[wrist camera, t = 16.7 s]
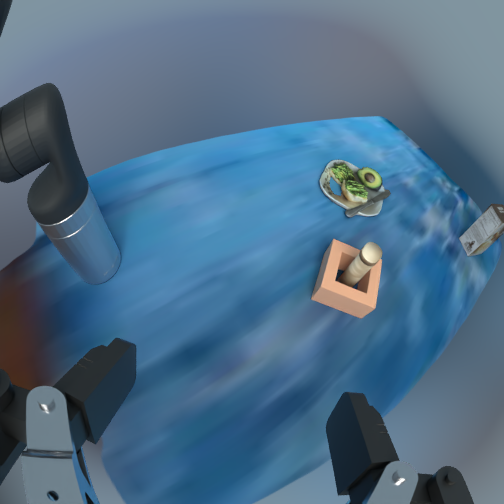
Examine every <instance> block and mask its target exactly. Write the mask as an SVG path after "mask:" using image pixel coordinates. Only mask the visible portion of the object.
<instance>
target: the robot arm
mask: <svg viewBox="0 0 504 504" xmlns="http://www.w3.org/2000/svg"><path fill="white" fill-rule="evenodd" d="M11 3H12V0H0V36H1V33H2V30H3V27H4V25H5V22H6V19H7V16H8V13H9V10H10V7H11ZM49 162H50V163H49ZM47 163H49V165H48V166H47V167H46V169H44V171H43V172H42V173H41V174H40V175H39V176H38V178H36V180H35V181H34V183H33V184H32V186H31V188H30V190H29V193H28V201H27V203H28V207H29V210H30V212H31V214H32V215H33V217H34V218H35V219H36V221H37V222H38V224H39V225H40V227H41V228H42V229H43V231H44V232H45V234H46V235H47V236H48V238H49V239H50V240H51V242H52V243H53V244H54V246H55V247H56V248H57V249H58V251H59V252H60V253H61V255H62V256H63V257H64V258H65V260H66V261H67V262H68V263H69V265H70V266H71V267H72V268H73V269H74V271H75V272H76V273H77V274H78V275H79V276H80V278H81V279H82V280H83V281H85V282H86V283H89V284H101V283H103V282H106V281H107V280H109V279H110V278H111V277H112V276H113V275H114V274H115V273H116V272H117V270H118V268H119V265H120V261H121V254H120V251H119V248H118V246H117V244H116V243H115V241H114V239H113V236H112V234H111V232H110V230H109V228H108V226H107V224H106V222H105V220H104V218H103V216H102V213H101V211H100V209H99V207H98V205H97V202H96V200H95V198H94V195H93V193H92V191H91V189H90V186H89V184H88V181H87V179H86V176H85V174H84V171H83V169H82V166H81V164H80V161H79V158H78V156H77V153H76V150H75V147H74V144H73V140H72V136H71V132H70V128H69V124H68V119H67V115H66V111H65V107H64V103H63V100H62V97H61V94H60V92H59V90H58V89H57V87H56V86H55V85H53V84H51V83H46V84H43V85H41V86H39V87H37V88H35V89H33V90H31V91H29V92H27V93H25V94H23V95H22V96H20V97H18V98H16V99H14V100H13V101H11V102H9V103H8V104H6V105H4V106H3V107H1V108H0V181H1V182H5V183H10V182H13V181H16V180H18V179H20V178H22V177H24V176H25V175H27V174H29V173H31V172H32V171H34V170H36V169H38V168H40V167H41V166H43V165H45V164H47ZM135 379H136V345H135V344H133V343H130V342H128V341H125V340H122V339H120V338H115V339H114V340H113V341H112V342H111V343H110V344H109V345H108V346H107V347H106V346H104V345H100V346H98V347H96V348H93V349H91V350H90V351H89V352H88V353H87V354H86V355H85V356H84V357H83V359H82V358H81V359H80V360H79V361H78V362H77V365H76V364H75V365H74V366H73V367H72V368H71V369H70V370H69V371H68V372H67V373H66V374H65V375H64V376H63V377H62V378H61V379H60V380H59V381H58V382H57V383H56V384H55V385H54V386H53V387H50V386H40V387H36V388H34V389H33V390H31V391H30V390H27V389H24V388H21V387H18V386H16V385H13V384H11V381H10V378H9V376H8V374H7V373H6V372H5V371H4V370H2V369H0V485H1V484H2V482H3V480H4V479H5V477H6V476H7V474H8V473H9V471H10V469H11V468H12V466H13V465H14V463H15V462H16V460H17V459H18V457H19V456H20V455H21V462H22V472H23V480H24V487H25V493H26V498H27V503H28V504H100V503H99V501H98V498H97V497H96V494H95V492H94V489H93V486H92V483H91V479H90V476H89V473H88V469H87V466H86V461H85V457H84V453H83V449H82V445H83V444H84V442H85V441H86V440H88V441H90V442H92V443H94V444H96V443H97V442H98V440H99V438H100V437H101V435H102V434H103V432H104V431H105V429H106V428H107V426H108V424H109V423H110V421H111V420H112V418H113V417H114V415H115V414H116V412H117V410H118V409H119V407H120V406H121V404H122V403H123V401H124V400H125V398H126V397H127V395H128V394H129V392H130V391H131V389H132V387H133V385H134V382H135ZM387 432H388V431H387V429H386V427H385V426H384V422H383V419H382V417H381V415H380V414H379V412H378V411H377V410H376V409H375V408H374V407H373V406H369V404H368V402H367V399H366V397H365V395H364V394H363V393H352V392H345V393H343V394H342V396H341V398H340V399H339V401H338V403H337V405H336V406H335V408H334V410H333V411H332V413H331V415H330V416H329V418H328V421H327V425H326V433H327V438H328V443H329V449H330V454H331V459H332V465H333V470H334V476H335V481H336V487H337V493H338V495H349V496H350V500H349V501H348V502H347V503H346V504H474V503H473V500H472V497H471V495H470V492H469V490H468V488H467V485H466V483H465V481H464V479H463V476H462V474H461V473H460V472H459V471H458V470H457V469H456V468H454V467H451V466H445V467H442V468H441V469H439V470H438V471H437V472H436V473H435V474H434V475H430V474H418V473H417V471H416V469H415V468H414V467H413V466H412V465H410V464H409V463H407V462H404V461H400V460H399V458H398V456H397V453H396V451H395V448H394V446H393V443H392V441H391V438H390V436H389V434H388V433H387ZM26 446H27V451H23V450H24V449H25V447H26ZM21 453H22V454H21Z"/></svg>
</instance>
